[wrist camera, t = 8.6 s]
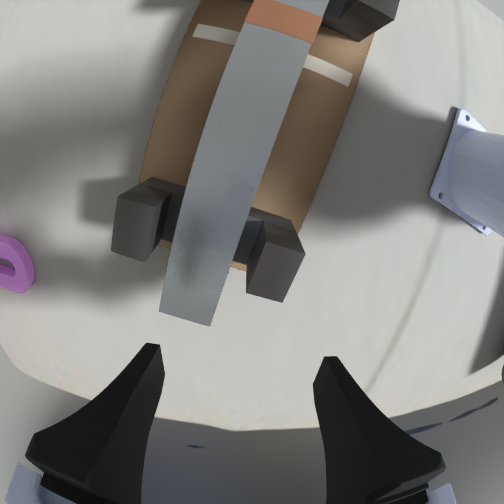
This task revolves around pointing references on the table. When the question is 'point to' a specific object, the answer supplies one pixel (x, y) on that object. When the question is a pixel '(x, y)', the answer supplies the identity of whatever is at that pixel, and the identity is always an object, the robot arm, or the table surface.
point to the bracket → (15, 265)
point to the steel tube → (236, 151)
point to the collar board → (284, 149)
